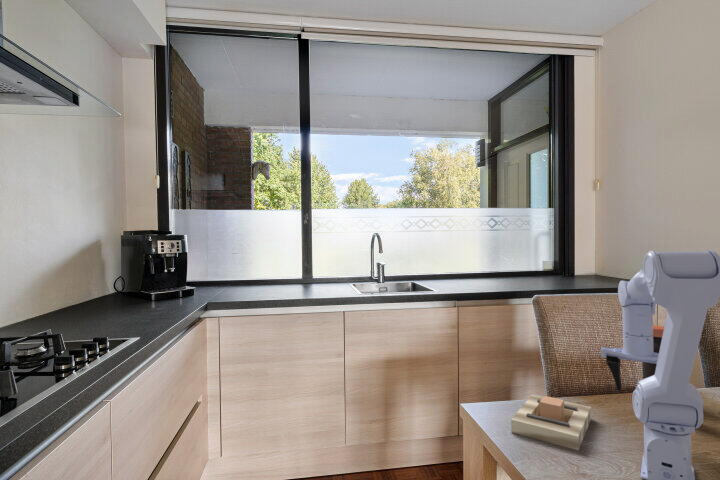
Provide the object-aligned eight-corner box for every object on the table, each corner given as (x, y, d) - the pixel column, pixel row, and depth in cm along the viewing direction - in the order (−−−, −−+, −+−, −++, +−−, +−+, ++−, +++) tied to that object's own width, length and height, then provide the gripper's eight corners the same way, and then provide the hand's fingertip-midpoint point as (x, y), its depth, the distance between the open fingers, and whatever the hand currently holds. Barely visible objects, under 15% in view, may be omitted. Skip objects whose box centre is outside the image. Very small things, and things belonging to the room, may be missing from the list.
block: (560, 431, 93) (560, 406, 93) (540, 426, 96) (539, 401, 96) (564, 424, 97) (563, 399, 97) (544, 419, 99) (544, 395, 99)
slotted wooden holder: (578, 450, 85) (578, 434, 85) (511, 432, 93) (511, 417, 93) (591, 418, 99) (591, 404, 99) (532, 405, 107) (531, 392, 107)
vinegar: (674, 407, 104) (672, 331, 104) (642, 401, 108) (641, 328, 108) (673, 398, 110) (672, 326, 110) (643, 393, 114) (641, 323, 114)
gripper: (677, 334, 90) (679, 393, 90) (603, 326, 99) (604, 381, 99) (678, 340, 84) (679, 404, 84) (599, 332, 93) (600, 390, 93)
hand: (639, 392), depth 91 cm, fingers open, 7 cm apart
